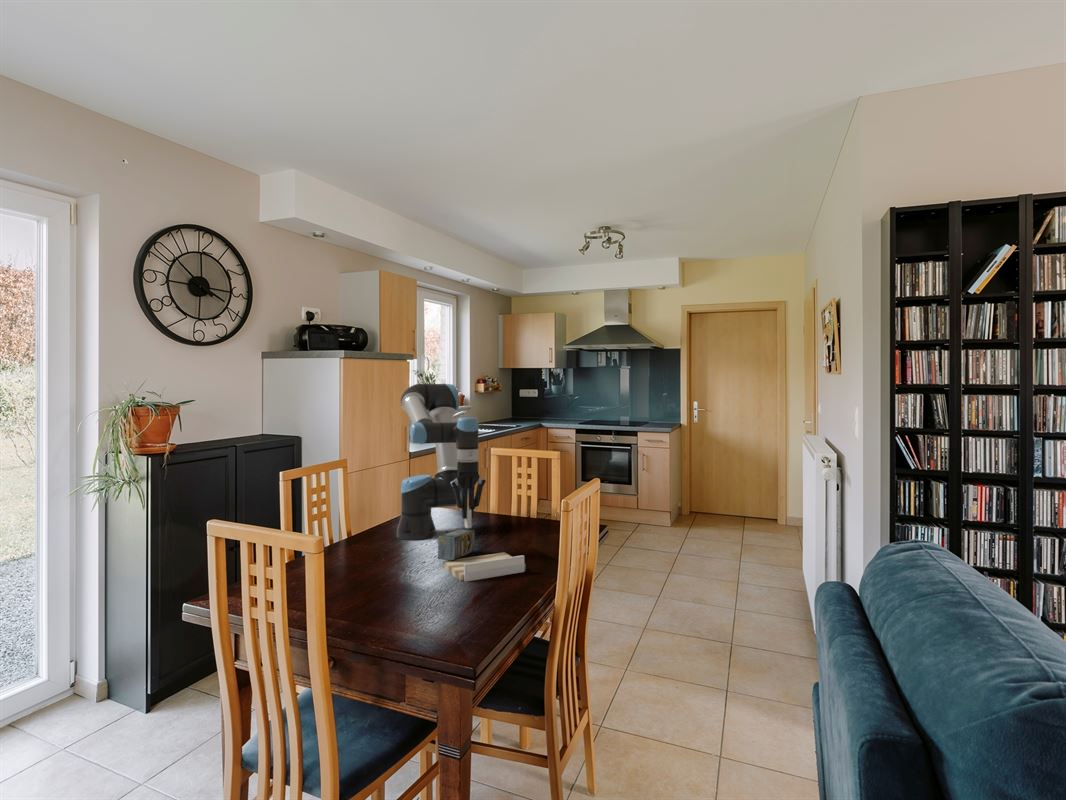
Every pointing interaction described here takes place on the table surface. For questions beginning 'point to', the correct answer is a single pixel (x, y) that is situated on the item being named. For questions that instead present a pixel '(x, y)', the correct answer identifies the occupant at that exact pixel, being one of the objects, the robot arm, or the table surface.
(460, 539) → the beverage carton
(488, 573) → the rail
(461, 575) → the shelf board
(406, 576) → the table surface
